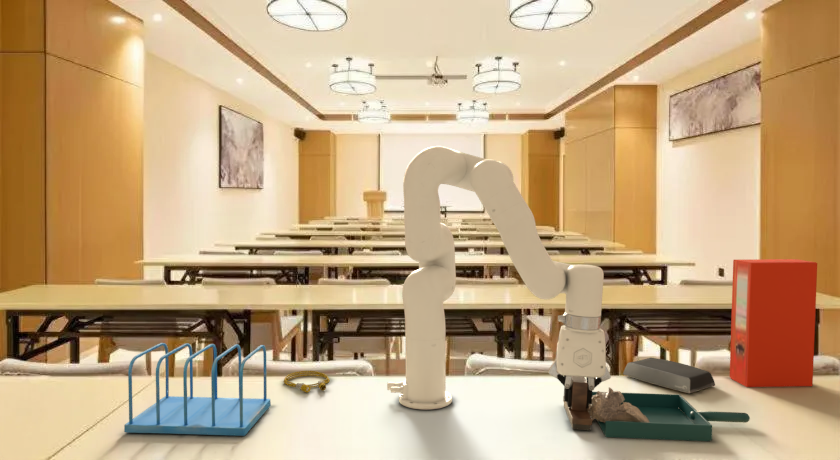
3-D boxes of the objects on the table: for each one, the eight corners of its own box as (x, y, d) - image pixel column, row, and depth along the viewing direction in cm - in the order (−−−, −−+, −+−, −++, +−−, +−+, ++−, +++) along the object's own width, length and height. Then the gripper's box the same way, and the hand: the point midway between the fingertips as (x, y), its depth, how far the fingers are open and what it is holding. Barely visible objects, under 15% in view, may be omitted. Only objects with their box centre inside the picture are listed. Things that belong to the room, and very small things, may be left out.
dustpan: (605, 437, 117) (605, 421, 117) (588, 405, 136) (588, 391, 136) (771, 443, 114) (771, 427, 114) (730, 410, 133) (730, 396, 133)
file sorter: (123, 434, 118) (121, 359, 118) (164, 404, 136) (163, 339, 135) (245, 436, 117) (244, 361, 117) (271, 406, 135) (270, 340, 134)
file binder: (813, 386, 150) (817, 262, 148) (747, 387, 149) (751, 262, 147) (791, 377, 158) (795, 259, 156) (729, 378, 157) (732, 259, 155)
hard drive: (687, 396, 142) (687, 379, 142) (620, 376, 158) (621, 361, 158) (717, 386, 149) (717, 370, 149) (650, 368, 166) (650, 354, 165)
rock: (641, 437, 116) (641, 402, 116) (579, 417, 127) (579, 385, 127) (656, 430, 120) (656, 395, 120) (595, 411, 131) (595, 380, 131)
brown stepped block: (571, 429, 120) (574, 388, 120) (562, 405, 134) (565, 369, 134) (591, 431, 120) (594, 390, 120) (580, 407, 134) (582, 370, 133)
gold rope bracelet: (275, 393, 144) (275, 385, 144) (289, 374, 160) (289, 367, 160) (325, 393, 144) (325, 385, 144) (334, 374, 160) (334, 367, 160)
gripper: (545, 323, 123) (540, 408, 124) (625, 328, 121) (619, 415, 122) (542, 316, 131) (537, 396, 132) (617, 321, 129) (612, 402, 130)
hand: (577, 404), depth 127 cm, fingers closed on brown stepped block, 3 cm apart
